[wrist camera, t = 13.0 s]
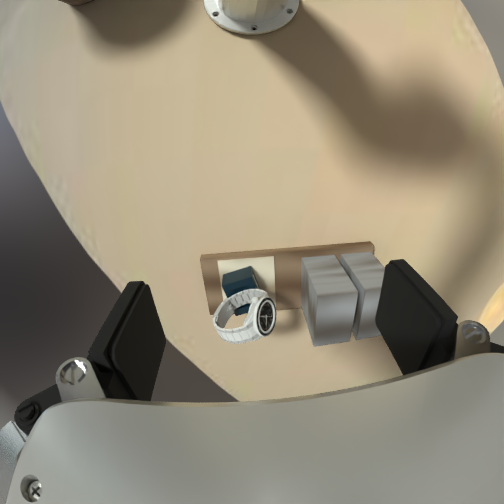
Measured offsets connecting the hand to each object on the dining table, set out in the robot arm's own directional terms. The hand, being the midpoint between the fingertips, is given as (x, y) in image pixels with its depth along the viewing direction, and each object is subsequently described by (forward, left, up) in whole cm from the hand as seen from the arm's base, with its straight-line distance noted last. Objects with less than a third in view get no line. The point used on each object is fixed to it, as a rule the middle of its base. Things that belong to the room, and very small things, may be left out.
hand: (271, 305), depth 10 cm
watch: (+16, -2, -27) cm, 31 cm away
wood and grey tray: (+16, +5, -28) cm, 33 cm away
